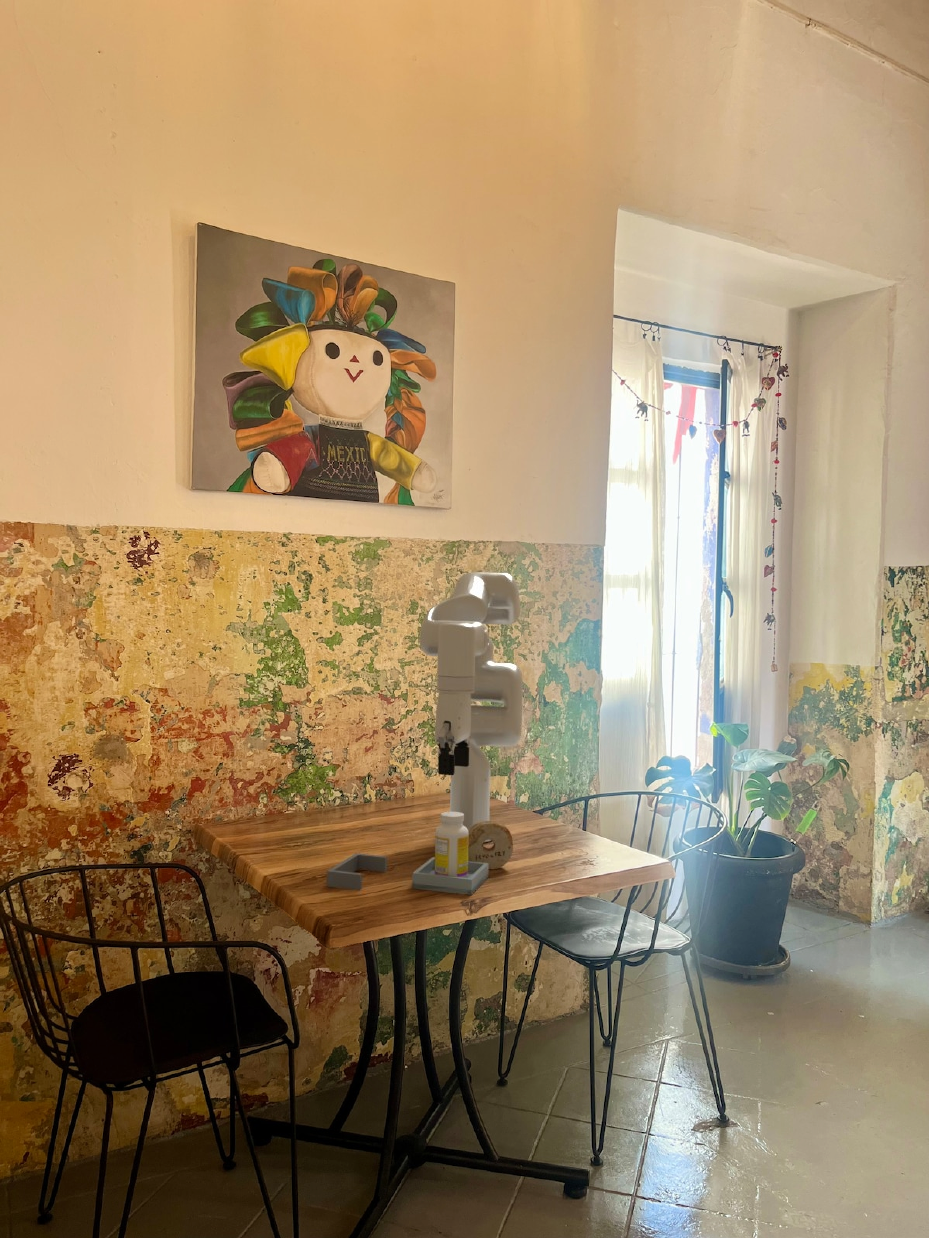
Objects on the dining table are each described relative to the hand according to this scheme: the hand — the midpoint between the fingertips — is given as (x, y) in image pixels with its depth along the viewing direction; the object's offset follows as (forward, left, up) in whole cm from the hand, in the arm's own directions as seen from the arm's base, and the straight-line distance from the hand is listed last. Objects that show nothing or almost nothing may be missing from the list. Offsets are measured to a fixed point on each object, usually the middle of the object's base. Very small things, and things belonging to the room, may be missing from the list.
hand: (453, 770), depth 183 cm
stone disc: (-13, +4, -23) cm, 26 cm away
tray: (0, 0, -23) cm, 23 cm away
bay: (+4, -18, -23) cm, 29 cm away
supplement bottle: (0, 0, -22) cm, 22 cm away
